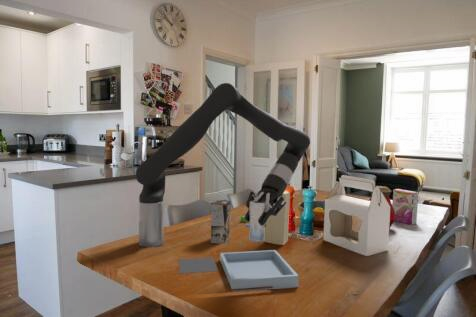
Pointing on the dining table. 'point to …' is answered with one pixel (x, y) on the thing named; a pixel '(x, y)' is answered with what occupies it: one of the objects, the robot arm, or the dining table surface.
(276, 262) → the tray
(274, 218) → the beige rectangular block
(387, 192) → the bottle
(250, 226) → the bushing
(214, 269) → the mat
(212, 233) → the coffee box
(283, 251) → the dining table surface
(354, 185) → the gable box
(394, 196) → the candy bar box
